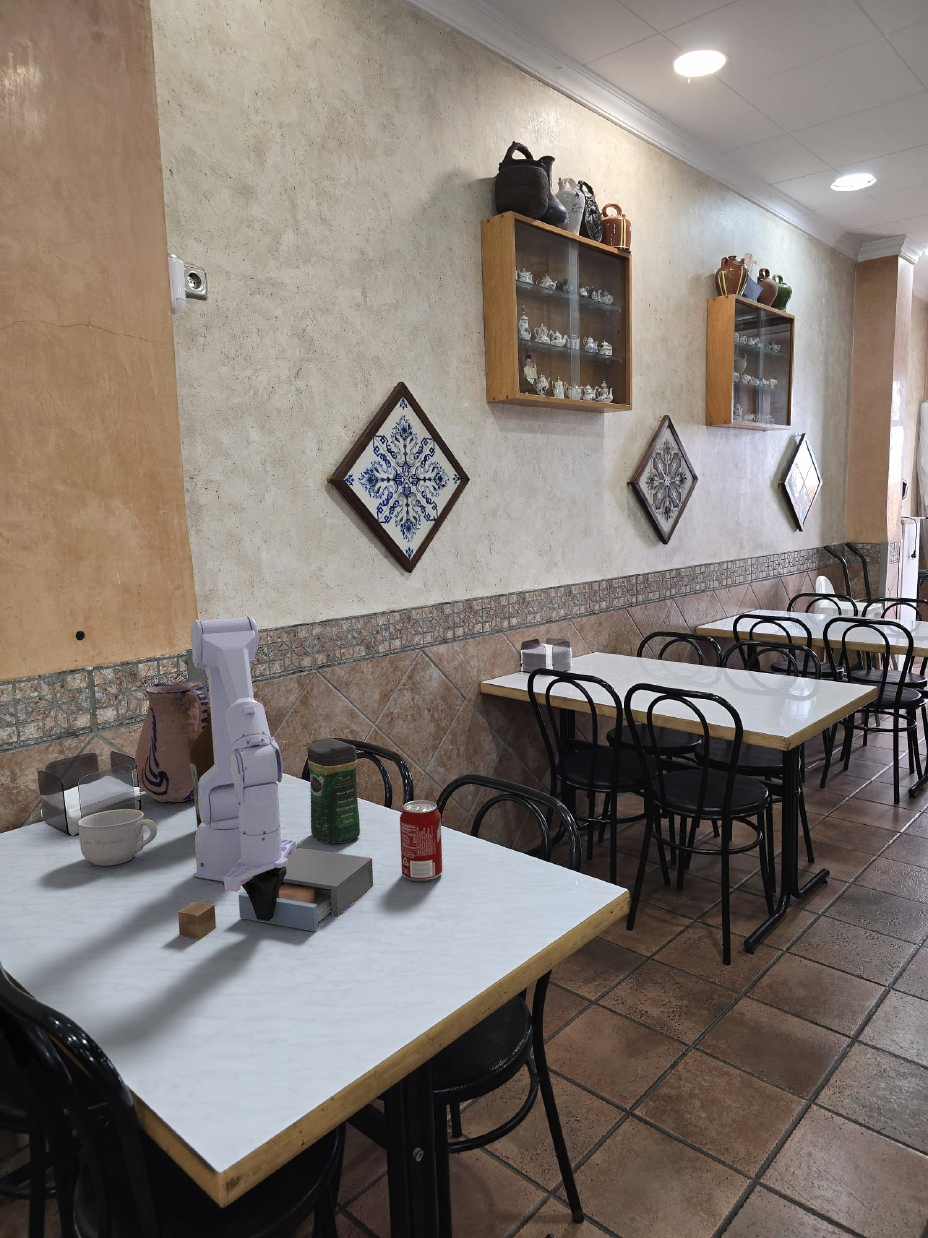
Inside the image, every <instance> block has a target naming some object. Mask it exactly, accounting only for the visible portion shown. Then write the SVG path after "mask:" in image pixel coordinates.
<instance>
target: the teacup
mask: <svg viewBox="0 0 928 1238" xmlns="http://www.w3.org/2000/svg"><path fill="white" fill-rule="evenodd" d="M77 826H78V835H79V837H78V838H79V845H80V851H81V854H82V856H83V857H84V859H86V860H87V861H89V862H91V863H92V864H93V865H95V866H102V867H103V866H114V865H120V864H123V863H126V862H128V861H131V860H132V859H133V858H134V857H136V855H137V854H138V853H139V852H141V851H143V850H144V848H145V846H147V845H149V844H150V843H152V842H153V841H154V839H155V838H156V836H157V834H158V827H157V825H156V823H155V822H154V821H153V820H151V819H149V818H146V819H144V812H142V811H141V810H138V809H129V808H125V809H124V808H122V809H121V808H120V809H114V810H113V809H112V810H105V811H101V812H100V811H99V812H97V813H93V814H90V815H86V816H84V817H83V818H82V817H81V818H80V819H79V820H78V821H77ZM144 826H147V828H148V829H149V835H148V837H147V838H146V839H145V837H144V835H145V834H144V833H145V829H144Z"/></svg>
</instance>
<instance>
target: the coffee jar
mask: <svg viewBox="0 0 928 1238" xmlns="http://www.w3.org/2000/svg"><path fill="white" fill-rule="evenodd" d="M357 754H358V753H357V749H356V746H355V745H353V744H350V743H346V742H344V741H341V740H339V739H335V738H333V737H326V738H324V737H323V738H320V739H314V740H312V742H311V743H310V744H309V746H308V748H307V765H308V770H309V779H310V780H309V781H310V782H309V783H310V833H311V835H312V836H313V837H314V838H315V839H316V840H319V841H321V842H323V843H325V844H328V845H329V844H330V845H331V844H340V843H341V844H346V843H349V842H351V841H353V840H355V839H356V838H358V837H359V836H360V834H361V827H360V825H361V824H360V815H359V814H360V811H359V801H358V800H359V799H358V789H357V788H358V787H357V785H358V784H357V767H358V756H357Z"/></svg>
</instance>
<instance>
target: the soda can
mask: <svg viewBox="0 0 928 1238" xmlns="http://www.w3.org/2000/svg"><path fill="white" fill-rule="evenodd" d="M437 807H438V806H437V803H435V802H434V801H431V800H426V799H424V800H423V799H421V800H420V799H419V800H413V801H409V802H407V803H405V804H403V806H402V808H403V809H402V812H401V814H400V815H399V834H400V835H399V837H400V839H399V840H400V861H401V864H400V866H401V875H402V877H404V878H406V879H408V880H410V881H413V882H417V883H418V882H419V883H424V882H429V881H432V880H435V879H436V878H438V877H439V876H440V875H441V874H442V873H443V851H442V850H443V849H442V846H443V845H442V844H443V843H442V817H441V816H442V815H441V813H440V812H439V809H437Z"/></svg>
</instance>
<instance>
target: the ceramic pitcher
mask: <svg viewBox="0 0 928 1238" xmlns="http://www.w3.org/2000/svg"><path fill="white" fill-rule="evenodd" d="M206 686H207V685H206V683H205V682H202V681H196V680H186V681H178V682H175V683H172V684H171V683H170V684H169V683H168V684H167V683H166V682H157V683H153V686H148V687H146V688H145V689H144V692H145V693H146V694H147V697H148V700H149V701H148V709H147V711H146V715H145V718H144V722H143V724H142V728H141V732H140V735H139V737H138V738H139V739H138V743H137V747H136V751H135V755H134V756H135V757H134V763H135V762H136V765H137V774H138V780H139V782H138V784H139V786H140V787H141V789H143V791H144V792H145V793H146V794H147V795H149V796H150V797H152V798H153V799H154V800H157V801H158V802H163V803H165V802H174V803H175V802H176V803H183V802H187V801H191V800H194V792H193V783H192V775H191V767H190V750H191V746H192V744H193V742H194V740H195V739H196V738H197V736H198V735H199V734H200V733H201V732H202V731H203V729H204V728H205V727H206V726H207V723H208V721H207V712H208V709H207V705H208V704H210V701H209V700H208V698H207V695H206V693H204V692H203V690H204V688H205V687H206ZM138 780H137V781H138Z"/></svg>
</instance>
